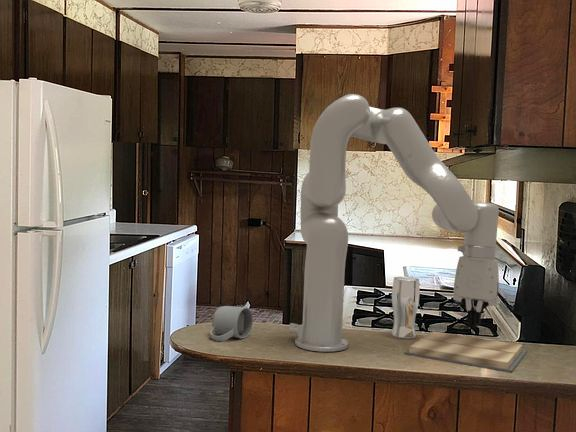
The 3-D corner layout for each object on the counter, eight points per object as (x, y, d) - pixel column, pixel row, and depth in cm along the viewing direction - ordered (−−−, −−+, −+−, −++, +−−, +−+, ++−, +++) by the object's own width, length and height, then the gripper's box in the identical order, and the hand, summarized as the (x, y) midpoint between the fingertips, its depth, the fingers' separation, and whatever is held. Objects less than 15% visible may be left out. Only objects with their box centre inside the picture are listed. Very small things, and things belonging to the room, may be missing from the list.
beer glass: (419, 339, 166) (422, 281, 166) (392, 338, 167) (394, 280, 166) (414, 333, 173) (417, 277, 172) (388, 332, 174) (391, 276, 173)
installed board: (409, 352, 152) (409, 346, 152) (421, 344, 160) (421, 338, 160) (507, 369, 142) (507, 362, 142) (514, 359, 149) (515, 353, 149)
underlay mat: (404, 354, 152) (404, 352, 152) (429, 337, 170) (429, 335, 170) (511, 372, 141) (511, 370, 141) (526, 352, 158) (526, 350, 158)
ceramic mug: (226, 330, 168) (226, 301, 168) (253, 335, 164) (254, 305, 164) (201, 339, 159) (202, 308, 158) (230, 344, 155) (230, 312, 155)
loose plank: (421, 344, 160) (422, 338, 160) (432, 336, 168) (432, 331, 168) (515, 359, 150) (515, 352, 150) (521, 350, 158) (522, 344, 158)
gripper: (444, 250, 161) (439, 324, 162) (507, 257, 154) (501, 334, 155) (452, 248, 167) (447, 319, 169) (513, 255, 160) (507, 329, 161)
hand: (473, 326), depth 162 cm, fingers closed
